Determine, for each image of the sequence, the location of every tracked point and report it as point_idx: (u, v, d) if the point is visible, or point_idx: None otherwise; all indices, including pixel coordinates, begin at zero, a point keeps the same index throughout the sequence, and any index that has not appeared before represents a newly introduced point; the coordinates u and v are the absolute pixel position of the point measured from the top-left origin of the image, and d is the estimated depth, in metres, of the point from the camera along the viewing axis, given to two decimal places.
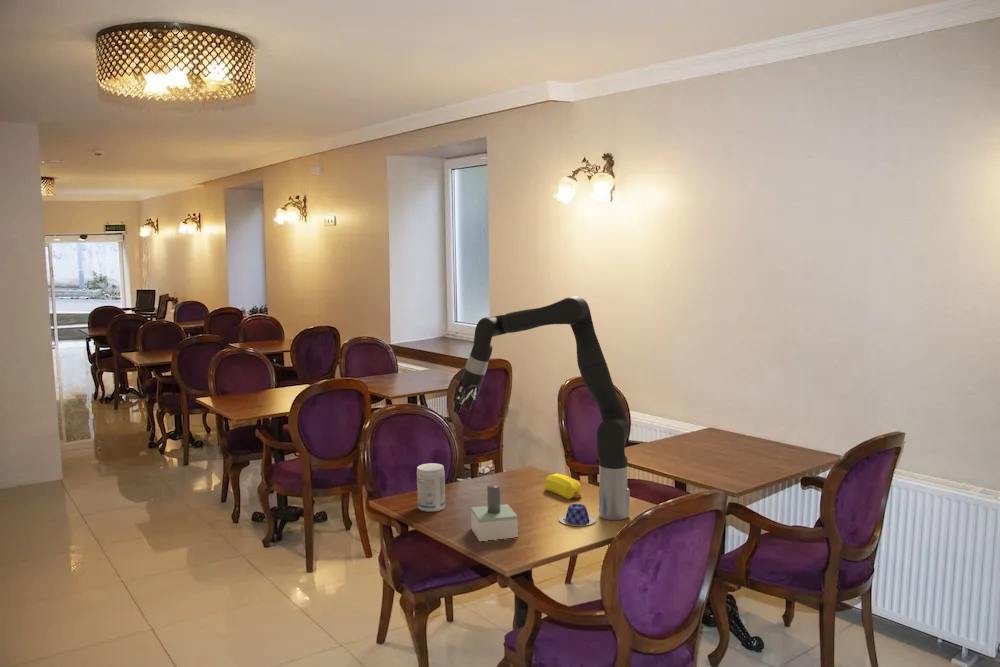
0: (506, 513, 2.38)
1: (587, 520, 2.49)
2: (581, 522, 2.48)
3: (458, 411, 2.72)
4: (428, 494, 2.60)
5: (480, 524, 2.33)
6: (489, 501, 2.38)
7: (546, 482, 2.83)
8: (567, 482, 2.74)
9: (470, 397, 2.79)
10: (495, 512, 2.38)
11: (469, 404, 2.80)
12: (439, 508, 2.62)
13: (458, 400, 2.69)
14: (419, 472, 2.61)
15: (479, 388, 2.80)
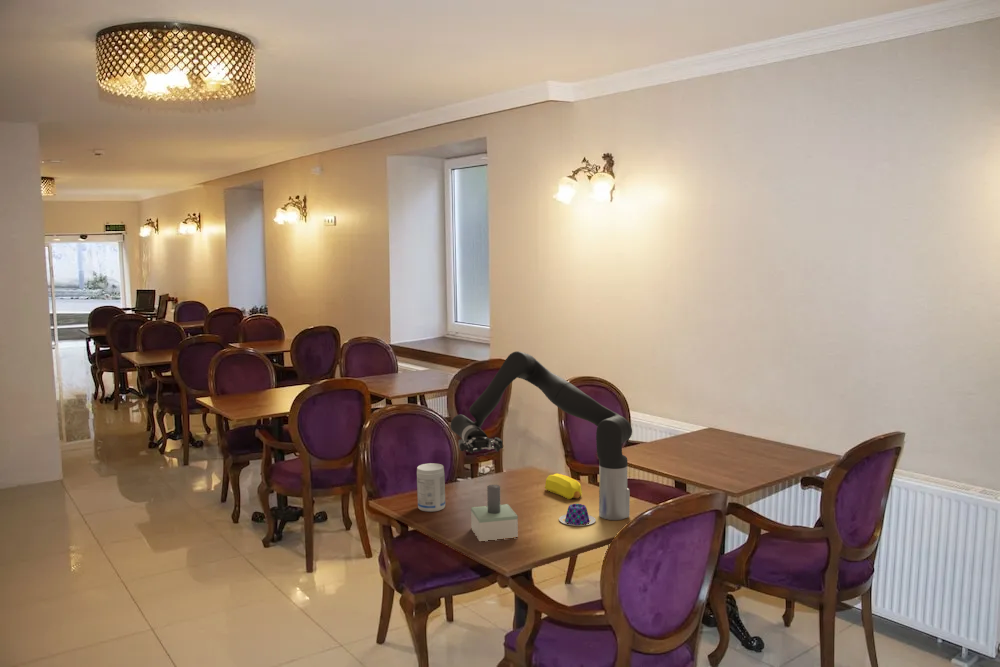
0: (506, 513, 2.38)
1: (587, 520, 2.49)
2: (581, 522, 2.48)
3: (470, 446, 2.48)
4: (428, 494, 2.60)
5: (480, 524, 2.33)
6: (489, 501, 2.38)
7: (546, 482, 2.82)
8: (567, 482, 2.74)
9: (494, 445, 2.54)
10: (495, 512, 2.38)
11: (495, 445, 2.51)
12: (439, 508, 2.62)
13: (460, 444, 2.52)
14: (419, 472, 2.61)
15: (497, 438, 2.58)
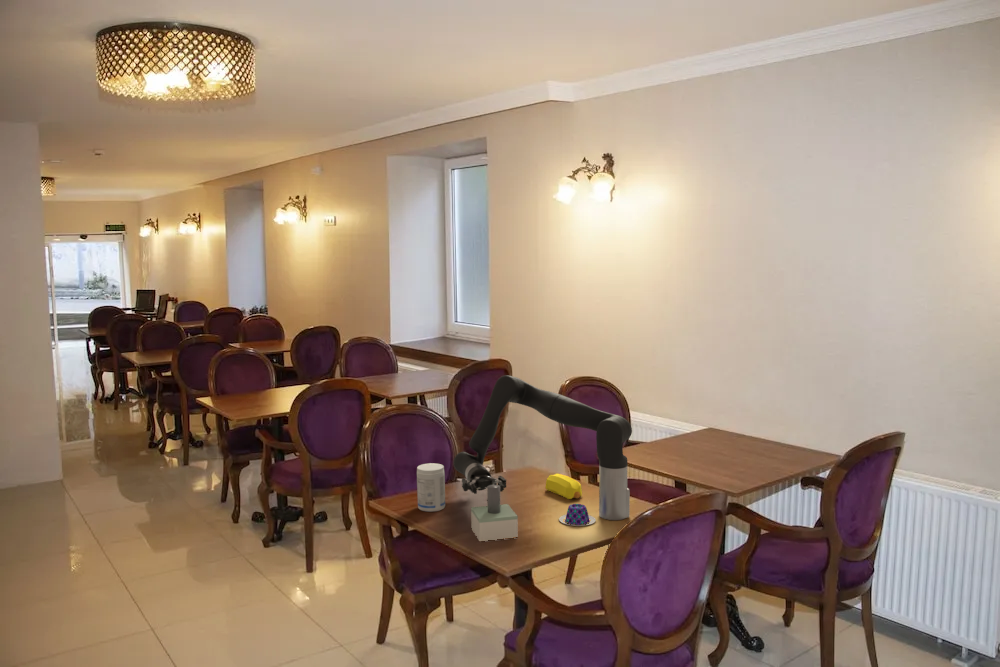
0: (506, 513, 2.38)
1: (587, 520, 2.49)
2: (582, 522, 2.48)
3: (474, 487, 2.45)
4: (428, 494, 2.60)
5: (480, 524, 2.33)
6: (489, 501, 2.38)
7: (547, 482, 2.82)
8: (567, 482, 2.74)
9: None
10: (495, 512, 2.38)
11: (499, 485, 2.48)
12: (439, 508, 2.62)
13: (464, 484, 2.49)
14: (419, 472, 2.61)
15: (500, 477, 2.55)
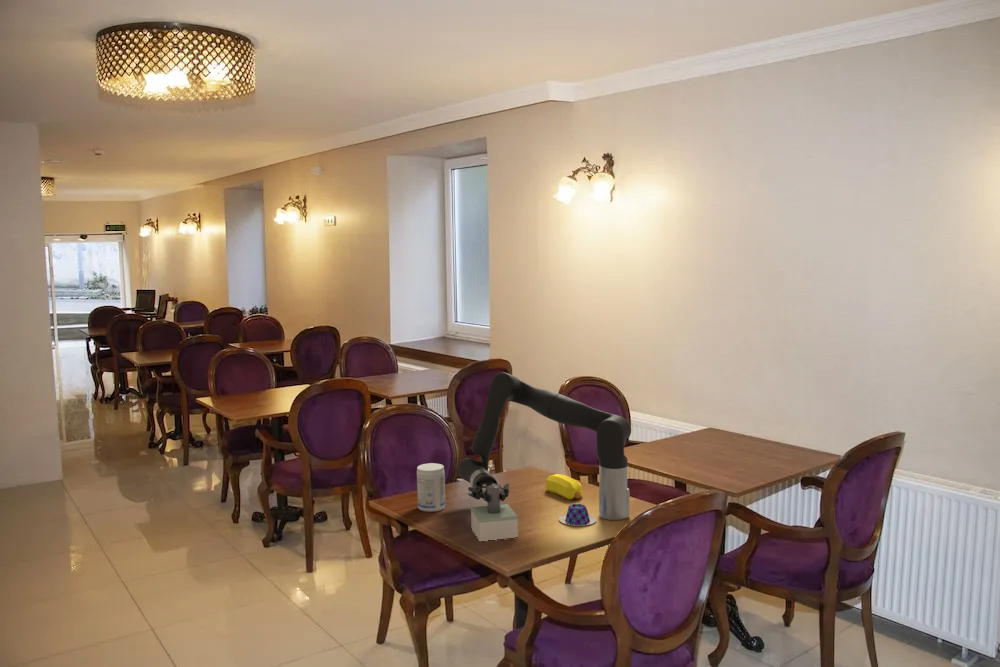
0: (506, 513, 2.38)
1: (588, 520, 2.49)
2: (582, 522, 2.48)
3: (487, 495, 2.36)
4: (428, 494, 2.60)
5: (480, 524, 2.33)
6: None
7: (547, 482, 2.82)
8: (568, 482, 2.74)
9: None
10: (495, 512, 2.38)
11: (500, 495, 2.38)
12: (439, 508, 2.62)
13: (476, 492, 2.40)
14: (419, 472, 2.61)
15: (506, 485, 2.45)
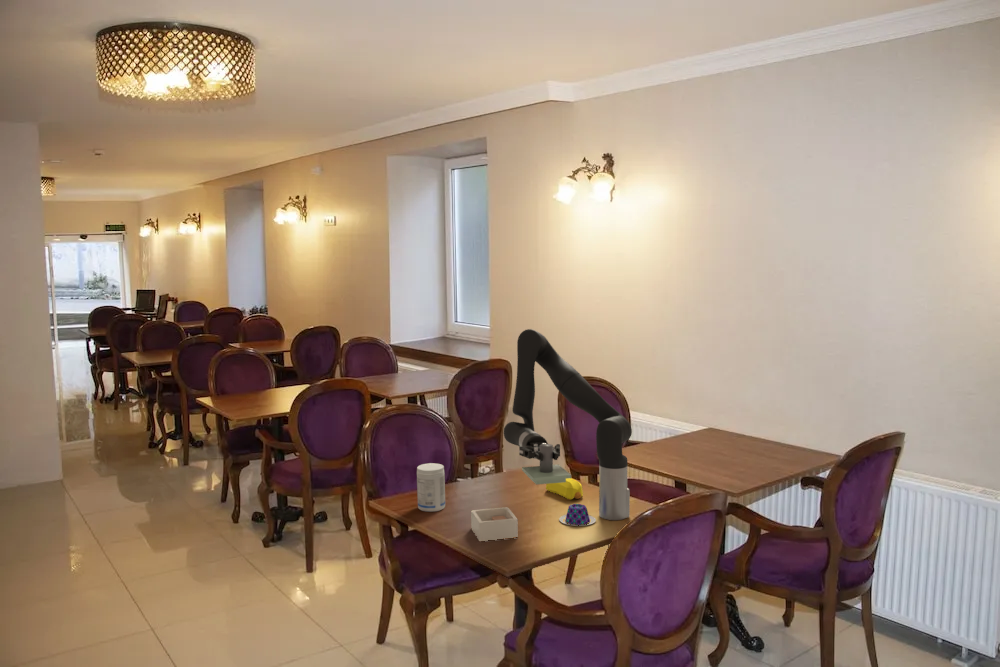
0: (559, 472, 2.33)
1: (588, 520, 2.49)
2: (582, 522, 2.48)
3: (540, 454, 2.32)
4: (428, 494, 2.60)
5: (480, 524, 2.33)
6: None
7: None
8: (568, 483, 2.74)
9: None
10: (548, 471, 2.33)
11: (553, 454, 2.34)
12: (439, 508, 2.62)
13: (528, 452, 2.36)
14: (419, 472, 2.61)
15: (557, 445, 2.41)
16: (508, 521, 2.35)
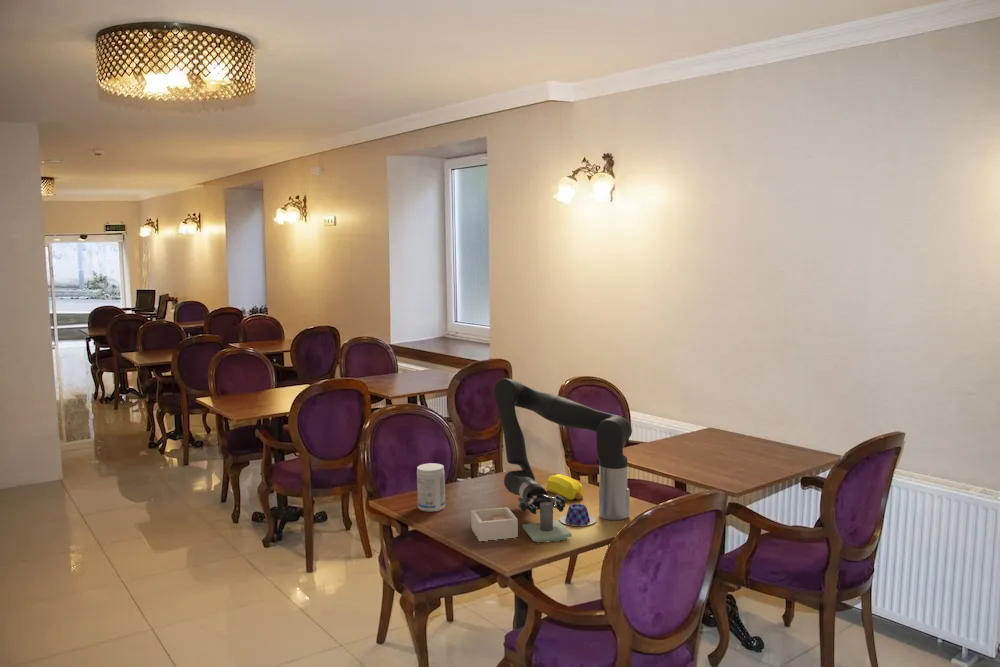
0: (559, 531, 2.35)
1: (588, 520, 2.49)
2: (582, 522, 2.48)
3: (533, 507, 2.34)
4: (428, 494, 2.60)
5: (480, 524, 2.33)
6: (542, 519, 2.35)
7: (548, 483, 2.82)
8: (569, 483, 2.73)
9: (556, 505, 2.40)
10: (548, 530, 2.35)
11: (558, 505, 2.37)
12: (439, 508, 2.62)
13: (521, 504, 2.38)
14: (419, 472, 2.61)
15: (558, 496, 2.44)
16: (508, 521, 2.35)
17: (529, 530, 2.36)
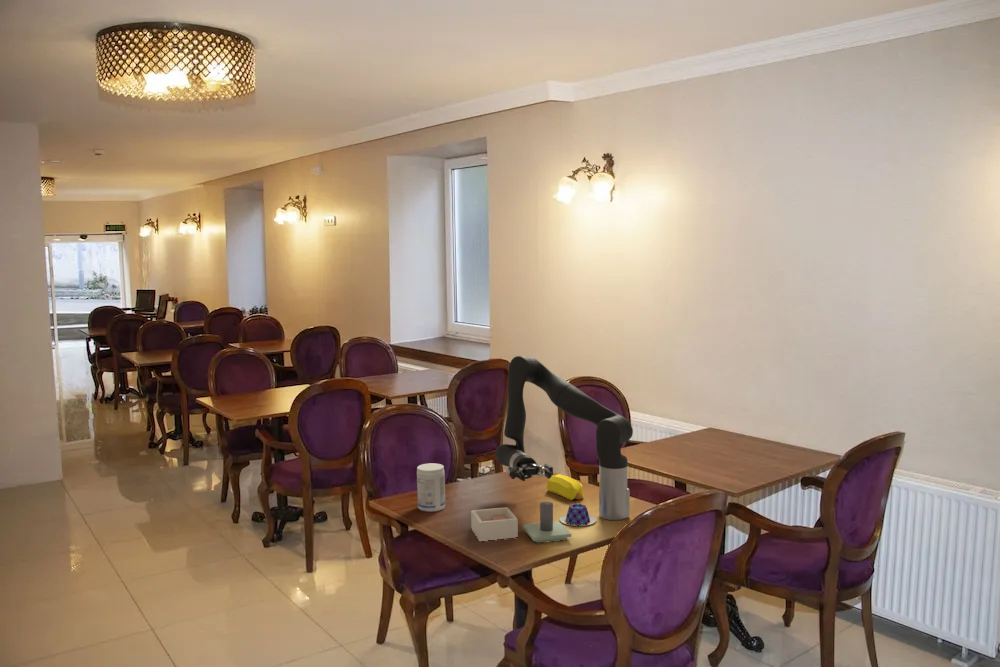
0: (559, 531, 2.35)
1: (588, 520, 2.49)
2: (582, 522, 2.48)
3: (522, 474, 2.46)
4: (428, 494, 2.60)
5: (480, 524, 2.33)
6: (542, 518, 2.35)
7: (548, 483, 2.81)
8: (569, 483, 2.73)
9: (545, 472, 2.51)
10: (548, 530, 2.35)
11: (546, 472, 2.49)
12: (439, 508, 2.62)
13: None
14: (419, 472, 2.61)
15: (547, 465, 2.55)
16: (508, 521, 2.35)
17: (529, 530, 2.36)
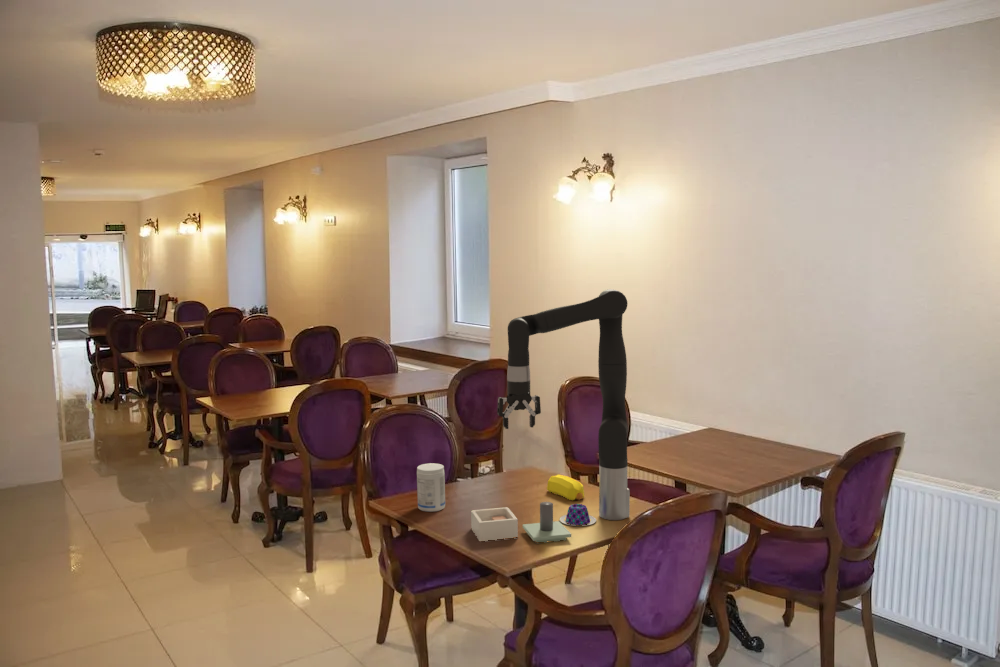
0: (559, 531, 2.35)
1: (587, 520, 2.49)
2: (581, 522, 2.47)
3: (506, 426, 2.51)
4: (428, 494, 2.60)
5: (480, 524, 2.33)
6: (542, 518, 2.35)
7: (548, 483, 2.81)
8: (570, 483, 2.73)
9: (530, 413, 2.54)
10: (548, 530, 2.35)
11: (530, 421, 2.53)
12: (439, 508, 2.62)
13: (499, 412, 2.50)
14: (419, 472, 2.61)
15: (537, 402, 2.52)
16: (508, 521, 2.35)
17: (529, 530, 2.36)
